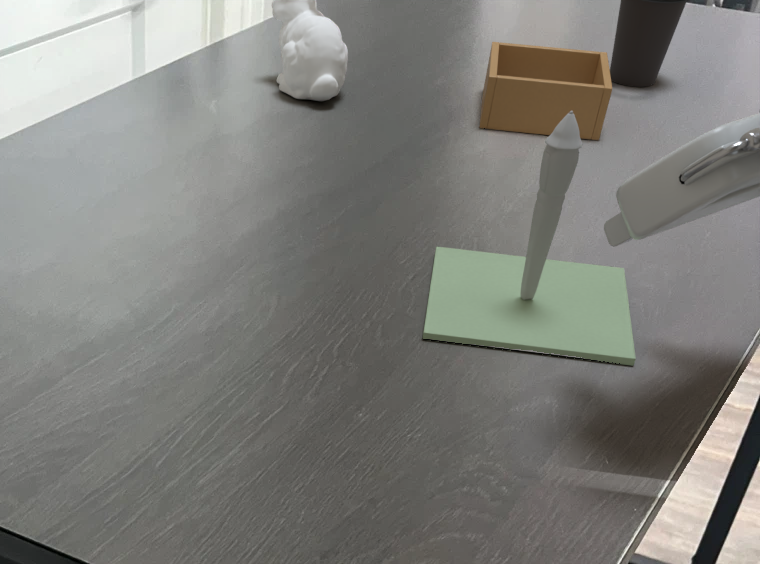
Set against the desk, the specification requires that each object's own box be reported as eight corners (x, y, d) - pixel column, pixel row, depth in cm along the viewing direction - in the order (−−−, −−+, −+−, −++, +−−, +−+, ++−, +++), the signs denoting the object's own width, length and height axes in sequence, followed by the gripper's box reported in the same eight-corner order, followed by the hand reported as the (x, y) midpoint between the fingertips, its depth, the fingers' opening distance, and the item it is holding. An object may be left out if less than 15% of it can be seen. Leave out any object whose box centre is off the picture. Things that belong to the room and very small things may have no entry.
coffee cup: (676, 78, 132) (706, -20, 124) (652, 95, 127) (681, -6, 120) (612, 64, 135) (637, -33, 128) (586, 80, 130) (610, -20, 123)
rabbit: (260, 76, 127) (267, -48, 118) (335, 71, 129) (347, -51, 121) (296, 112, 119) (306, -18, 111) (376, 106, 121) (392, -22, 113)
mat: (622, 274, 94) (624, 267, 94) (633, 366, 83) (635, 358, 83) (435, 253, 96) (436, 246, 95) (422, 339, 85) (423, 332, 84)
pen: (547, 305, 88) (596, 116, 78) (516, 307, 88) (561, 117, 78) (535, 290, 90) (581, 104, 80) (504, 293, 90) (547, 105, 79)
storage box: (594, 101, 125) (607, 52, 121) (598, 140, 116) (612, 88, 113) (483, 90, 126) (492, 41, 123) (479, 128, 118) (489, 76, 114)
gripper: (758, 197, 61) (575, 299, 73) (946, 129, 70) (754, 229, 82) (719, 86, 60) (540, 207, 73) (914, 31, 69) (725, 147, 81)
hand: (655, 219), depth 78 cm, fingers open, 8 cm apart
